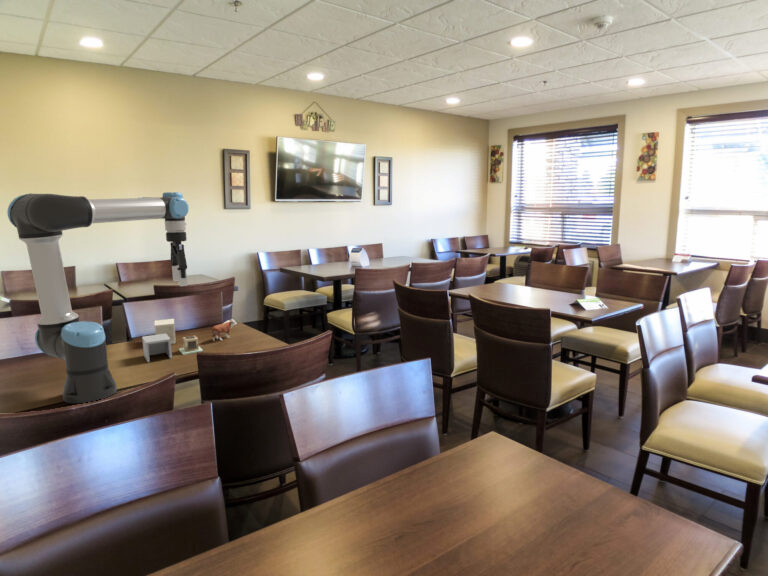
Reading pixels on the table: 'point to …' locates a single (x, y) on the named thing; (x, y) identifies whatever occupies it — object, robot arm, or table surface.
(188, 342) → the letter cube
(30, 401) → the table surface
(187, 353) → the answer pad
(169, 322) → the cream hood
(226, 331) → the bull figurine
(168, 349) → the grey hood
